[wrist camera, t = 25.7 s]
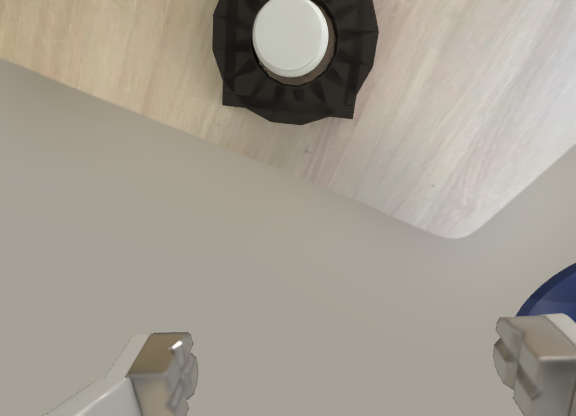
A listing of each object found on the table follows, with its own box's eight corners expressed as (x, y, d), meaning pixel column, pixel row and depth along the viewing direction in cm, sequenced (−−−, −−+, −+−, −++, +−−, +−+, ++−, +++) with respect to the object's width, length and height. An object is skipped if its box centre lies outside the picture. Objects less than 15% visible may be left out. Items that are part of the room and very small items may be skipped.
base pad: (358, 127, 36) (362, 131, 34) (216, 112, 37) (210, 115, 34) (385, -39, 31) (392, -48, 29) (221, -56, 32) (215, -66, 29)
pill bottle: (313, -3, 33) (316, -31, 23) (332, 64, 35) (341, 62, 25) (253, 21, 34) (233, 3, 24) (274, 84, 35) (263, 90, 26)
